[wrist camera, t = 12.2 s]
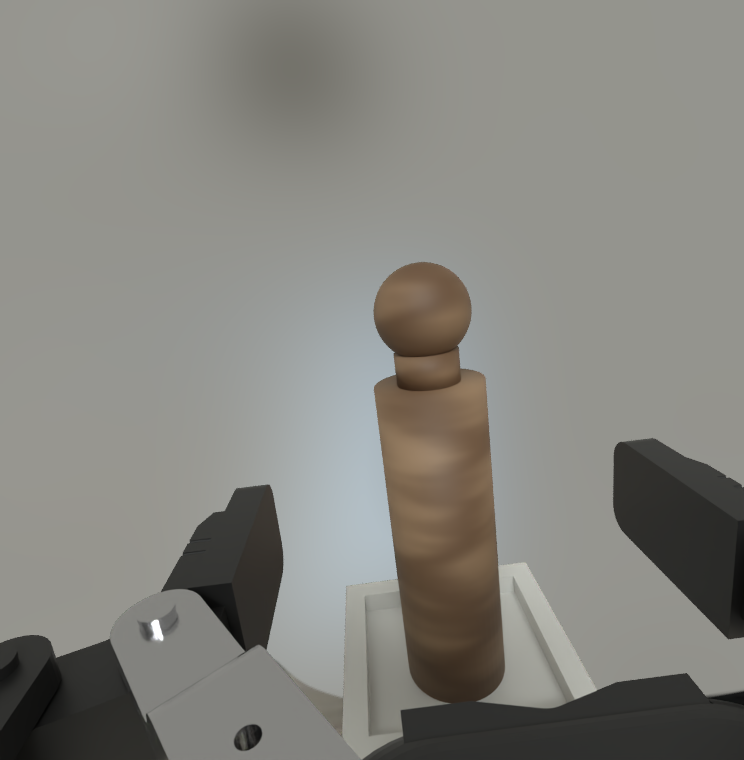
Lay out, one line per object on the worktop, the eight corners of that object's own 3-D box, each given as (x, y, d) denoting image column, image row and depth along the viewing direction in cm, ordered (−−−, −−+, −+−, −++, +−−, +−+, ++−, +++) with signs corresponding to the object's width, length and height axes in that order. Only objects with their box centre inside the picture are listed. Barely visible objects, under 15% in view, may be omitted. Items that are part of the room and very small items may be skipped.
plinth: (371, 931, 24) (341, 766, 21) (366, 709, 35) (346, 586, 33) (620, 898, 24) (619, 729, 21) (532, 686, 35) (525, 562, 33)
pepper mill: (414, 710, 25) (359, 271, 19) (404, 633, 30) (358, 268, 24) (518, 697, 25) (491, 254, 19) (490, 622, 30) (462, 255, 24)
